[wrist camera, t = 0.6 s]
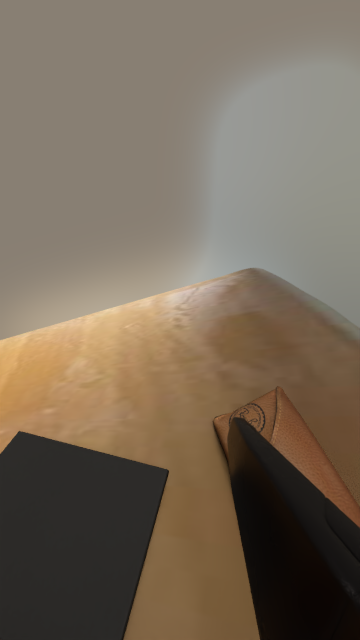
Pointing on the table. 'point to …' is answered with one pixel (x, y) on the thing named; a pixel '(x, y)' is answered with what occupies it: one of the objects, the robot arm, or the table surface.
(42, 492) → the grey mat
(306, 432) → the sunglasses case
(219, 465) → the table surface
